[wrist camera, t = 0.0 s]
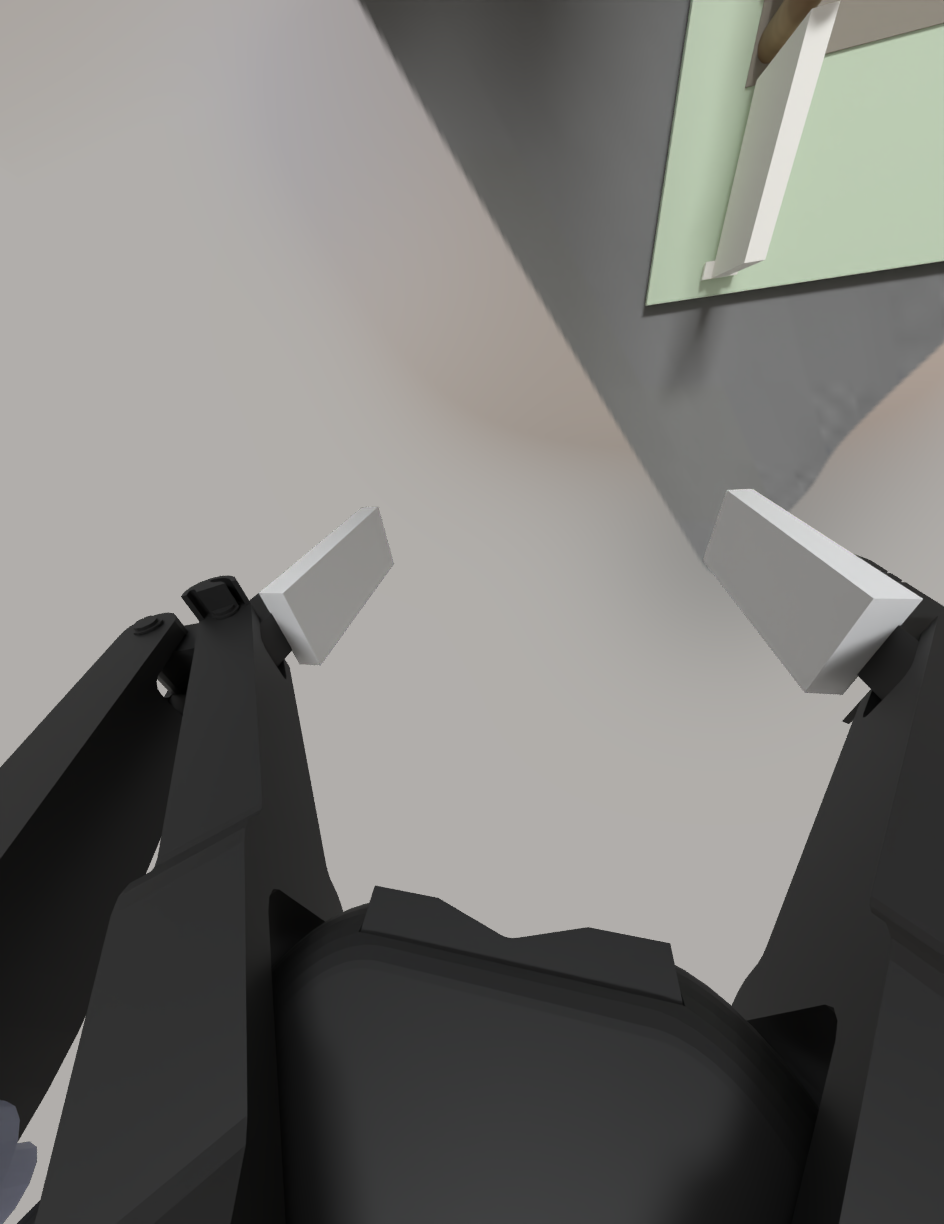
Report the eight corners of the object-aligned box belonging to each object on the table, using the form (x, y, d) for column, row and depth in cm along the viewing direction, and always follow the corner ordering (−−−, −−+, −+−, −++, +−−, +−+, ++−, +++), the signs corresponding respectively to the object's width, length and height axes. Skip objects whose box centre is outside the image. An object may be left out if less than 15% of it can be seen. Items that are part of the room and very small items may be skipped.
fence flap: (742, 87, 22) (797, 12, 17) (786, 76, 21) (855, -4, 16) (700, 280, 27) (733, 264, 22) (734, 275, 26) (775, 257, 22)
